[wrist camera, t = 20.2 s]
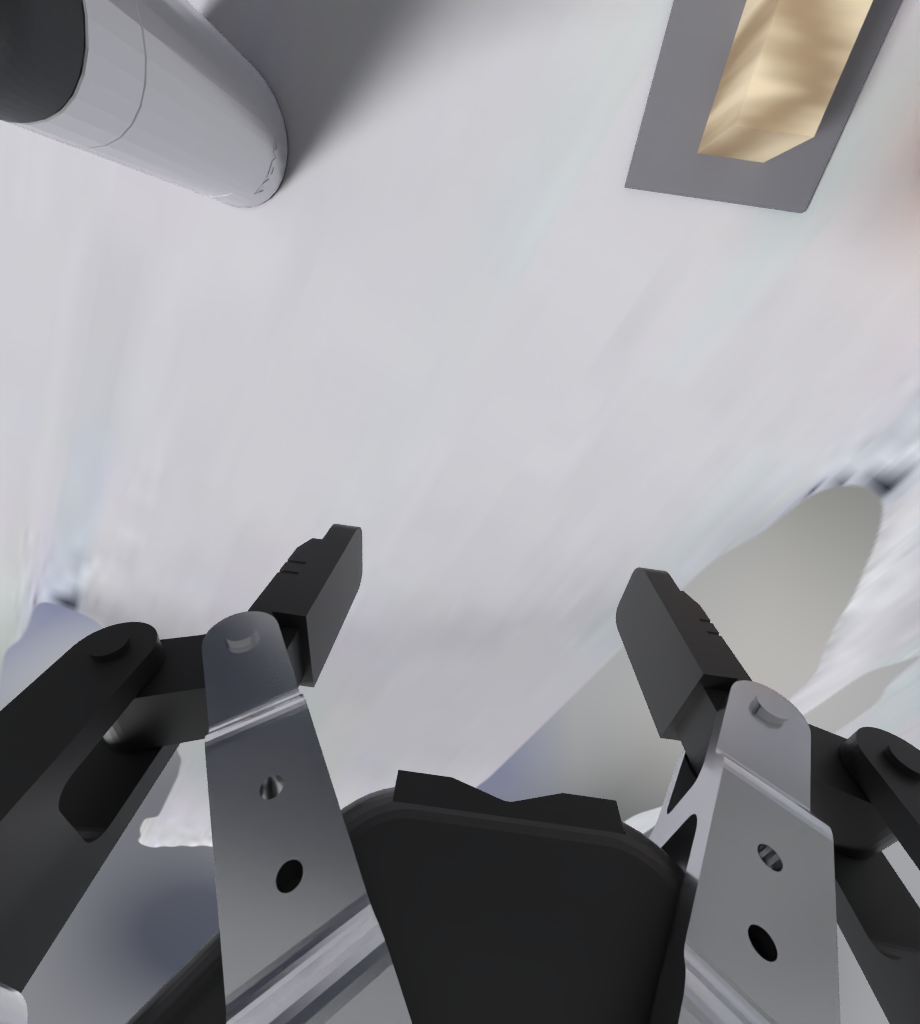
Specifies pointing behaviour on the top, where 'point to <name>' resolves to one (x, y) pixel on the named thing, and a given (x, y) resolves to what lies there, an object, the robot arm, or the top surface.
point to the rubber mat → (689, 99)
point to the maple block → (780, 75)
